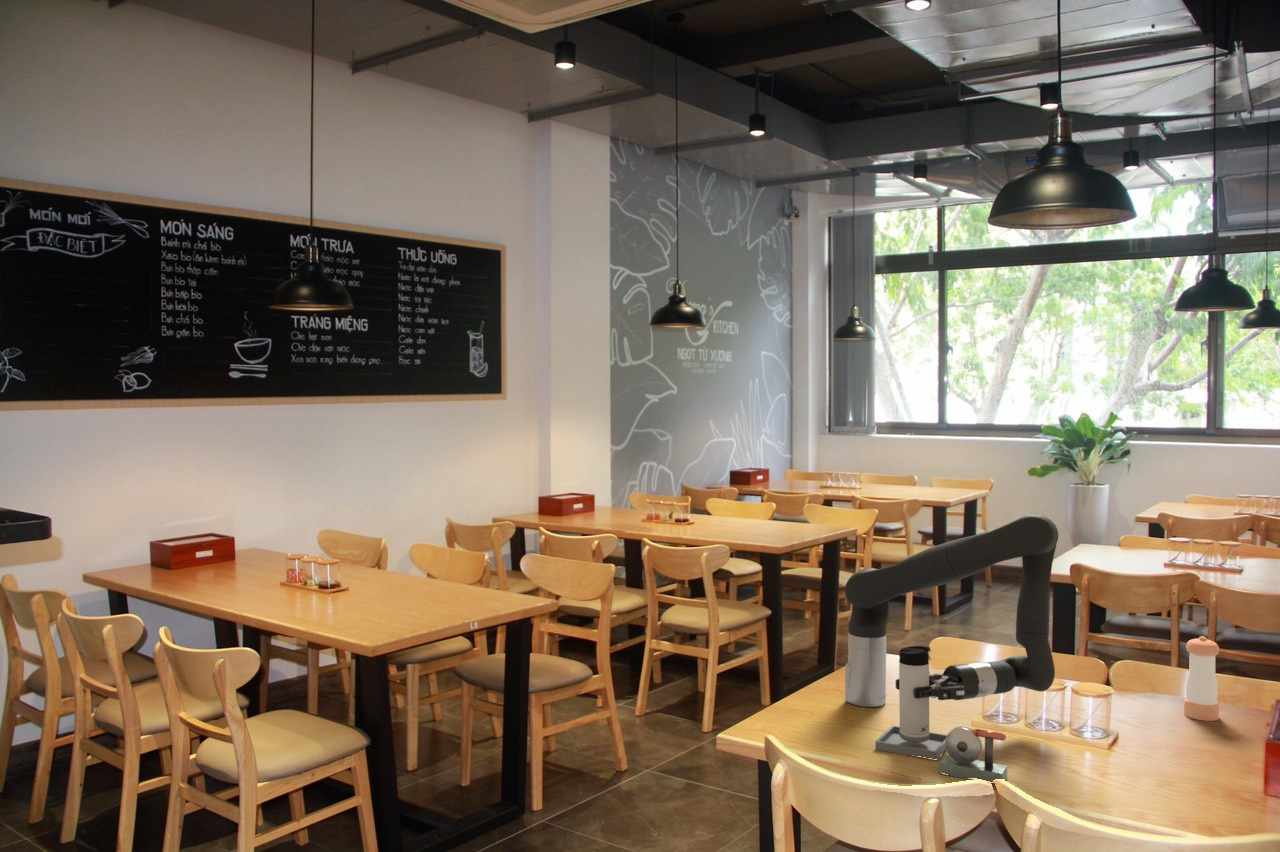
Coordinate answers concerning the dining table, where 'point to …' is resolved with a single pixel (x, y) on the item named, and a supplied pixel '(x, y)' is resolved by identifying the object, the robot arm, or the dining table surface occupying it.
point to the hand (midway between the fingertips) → (905, 688)
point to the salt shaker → (1202, 680)
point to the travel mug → (911, 708)
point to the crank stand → (971, 755)
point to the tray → (911, 744)
